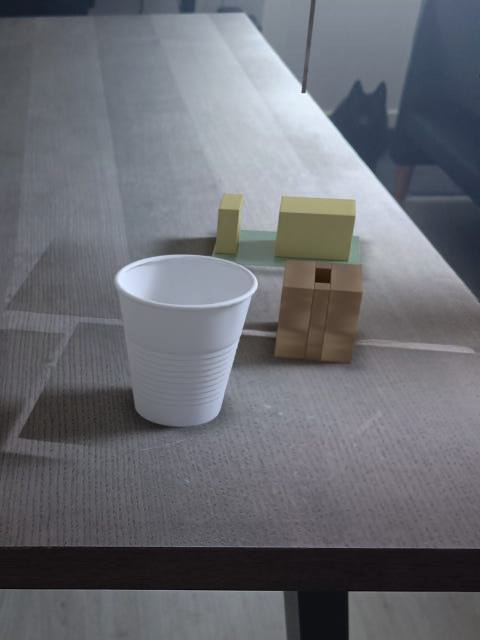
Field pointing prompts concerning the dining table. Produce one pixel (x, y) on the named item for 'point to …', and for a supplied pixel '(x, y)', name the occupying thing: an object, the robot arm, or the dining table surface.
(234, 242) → the butter pat
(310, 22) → the knife
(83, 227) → the dining table surface
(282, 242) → the butter block
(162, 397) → the cup
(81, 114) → the dining table surface
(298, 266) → the knife holder
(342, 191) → the dining table surface
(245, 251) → the board
